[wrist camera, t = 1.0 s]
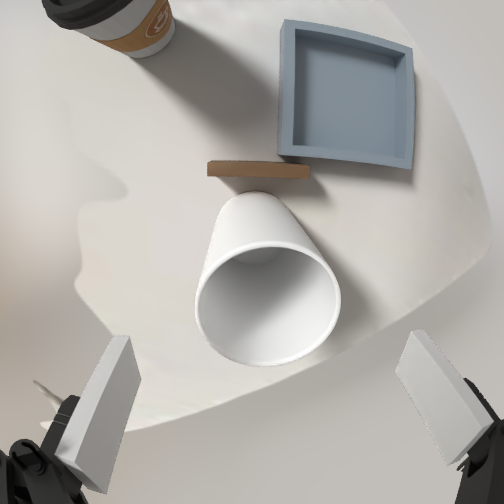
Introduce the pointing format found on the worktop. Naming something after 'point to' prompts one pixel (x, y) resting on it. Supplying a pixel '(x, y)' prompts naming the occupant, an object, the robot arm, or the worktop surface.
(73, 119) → the worktop surface
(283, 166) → the clip rails
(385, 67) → the tray
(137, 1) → the coffee cup
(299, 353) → the cup
